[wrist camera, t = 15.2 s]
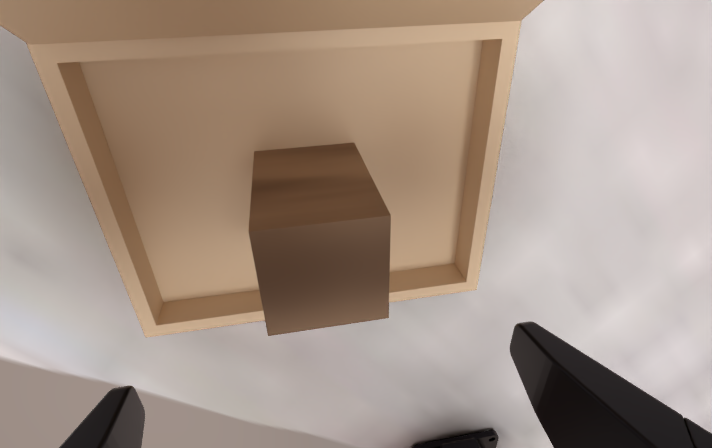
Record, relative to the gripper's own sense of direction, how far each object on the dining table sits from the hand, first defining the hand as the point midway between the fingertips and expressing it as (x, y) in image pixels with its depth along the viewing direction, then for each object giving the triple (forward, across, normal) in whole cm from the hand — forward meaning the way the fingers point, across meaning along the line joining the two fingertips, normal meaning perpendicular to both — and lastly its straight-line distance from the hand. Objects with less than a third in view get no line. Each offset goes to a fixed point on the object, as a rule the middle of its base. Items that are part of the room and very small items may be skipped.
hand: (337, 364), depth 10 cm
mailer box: (+10, 0, 0) cm, 10 cm away
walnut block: (+9, 0, 0) cm, 9 cm away
